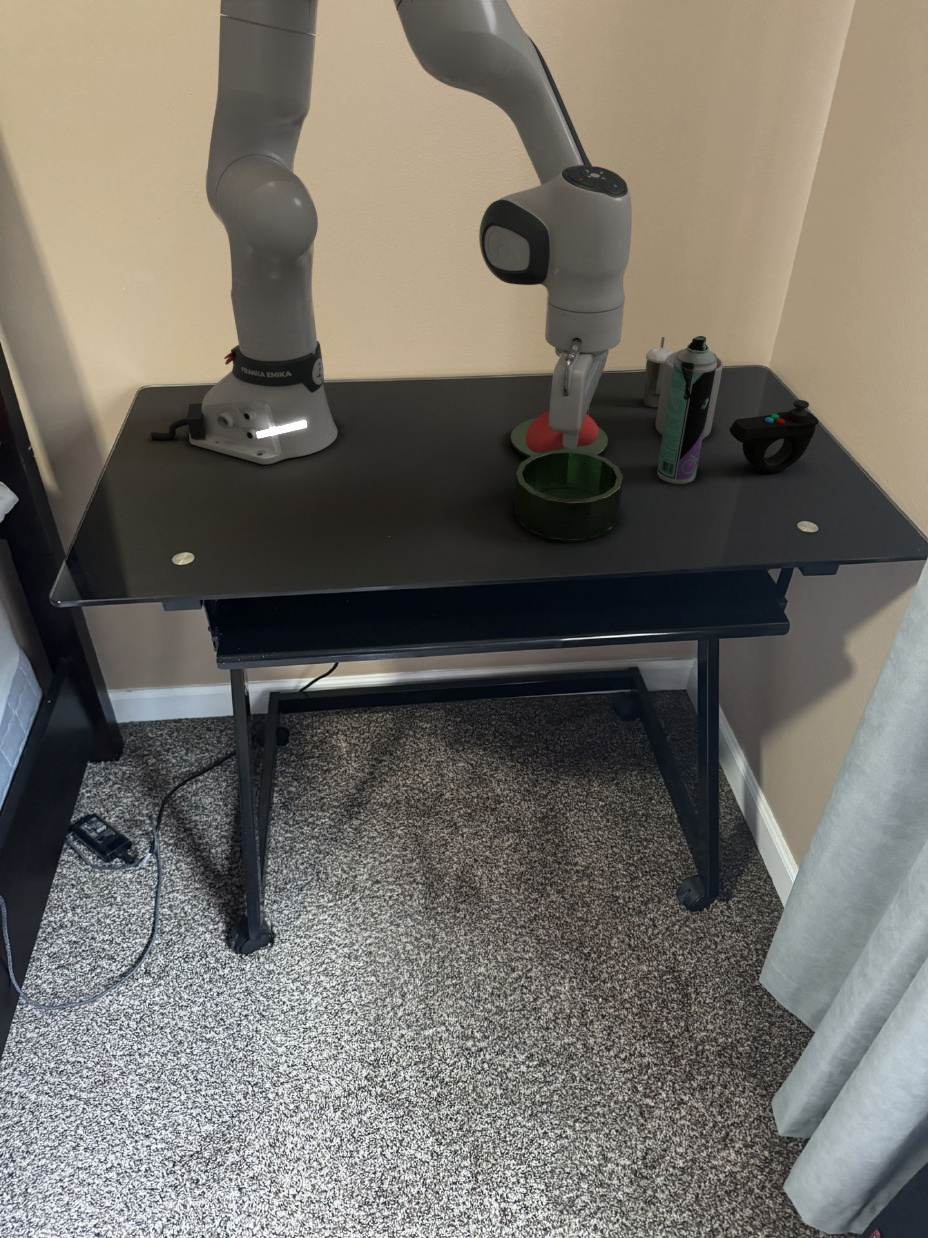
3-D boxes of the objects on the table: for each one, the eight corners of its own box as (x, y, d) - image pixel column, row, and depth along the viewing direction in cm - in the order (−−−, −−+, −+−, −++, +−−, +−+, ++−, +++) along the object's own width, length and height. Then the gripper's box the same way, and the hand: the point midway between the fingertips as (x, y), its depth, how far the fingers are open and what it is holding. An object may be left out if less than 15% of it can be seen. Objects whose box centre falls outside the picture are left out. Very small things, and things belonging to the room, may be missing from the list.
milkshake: (668, 396, 146) (677, 337, 139) (667, 410, 142) (676, 350, 135) (641, 394, 147) (649, 335, 140) (638, 407, 142) (646, 348, 136)
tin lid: (499, 460, 129) (500, 428, 126) (522, 417, 140) (524, 386, 137) (598, 474, 126) (601, 441, 122) (614, 429, 137) (617, 398, 133)
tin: (504, 533, 114) (505, 492, 110) (528, 482, 124) (530, 443, 120) (608, 549, 111) (613, 509, 107) (624, 496, 121) (629, 457, 117)
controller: (810, 471, 126) (828, 407, 120) (731, 481, 124) (745, 416, 118) (794, 457, 129) (811, 394, 123) (717, 467, 127) (730, 403, 121)
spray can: (695, 485, 123) (722, 347, 111) (656, 481, 124) (677, 343, 111) (695, 467, 127) (720, 331, 115) (657, 463, 128) (678, 328, 116)
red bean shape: (527, 443, 115) (514, 414, 110) (592, 416, 113) (582, 385, 108) (538, 473, 112) (525, 445, 107) (604, 446, 111) (595, 416, 106)
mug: (650, 416, 140) (660, 349, 133) (703, 416, 140) (716, 349, 133) (664, 452, 131) (675, 383, 124) (721, 452, 131) (736, 382, 124)
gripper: (596, 362, 93) (586, 476, 102) (623, 297, 108) (612, 401, 117) (538, 356, 95) (533, 469, 103) (572, 292, 110) (565, 396, 119)
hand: (575, 432), depth 110 cm, fingers closed on red bean shape, 5 cm apart
